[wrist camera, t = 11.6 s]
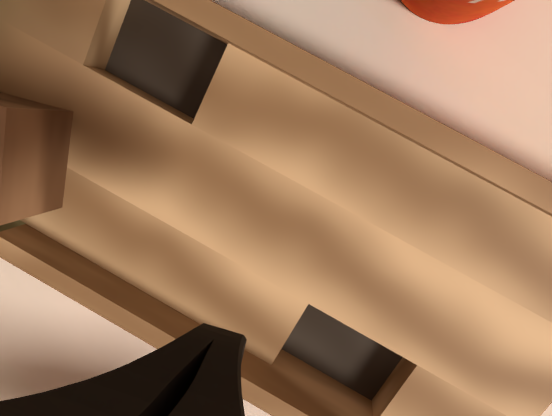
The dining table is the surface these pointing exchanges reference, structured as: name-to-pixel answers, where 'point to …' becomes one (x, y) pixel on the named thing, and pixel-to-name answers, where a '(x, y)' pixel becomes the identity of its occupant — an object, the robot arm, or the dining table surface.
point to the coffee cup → (453, 9)
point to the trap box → (282, 214)
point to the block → (32, 157)
